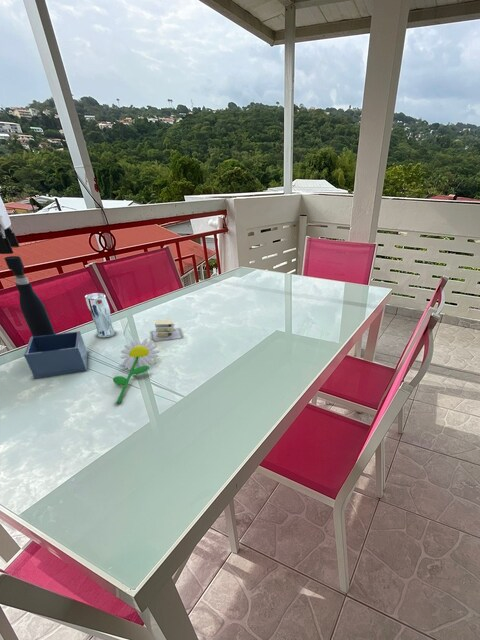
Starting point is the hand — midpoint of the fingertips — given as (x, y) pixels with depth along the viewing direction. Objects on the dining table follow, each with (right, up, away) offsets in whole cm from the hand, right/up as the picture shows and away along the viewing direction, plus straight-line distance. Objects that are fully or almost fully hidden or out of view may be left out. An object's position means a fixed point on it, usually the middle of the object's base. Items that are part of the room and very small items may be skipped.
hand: (10, 250), depth 98 cm
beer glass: (+12, -20, +29) cm, 37 cm away
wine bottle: (-2, -27, +18) cm, 32 cm away
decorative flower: (+34, -38, +5) cm, 51 cm away
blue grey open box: (+9, -33, +9) cm, 36 cm away
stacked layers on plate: (+34, -19, +32) cm, 50 cm away
